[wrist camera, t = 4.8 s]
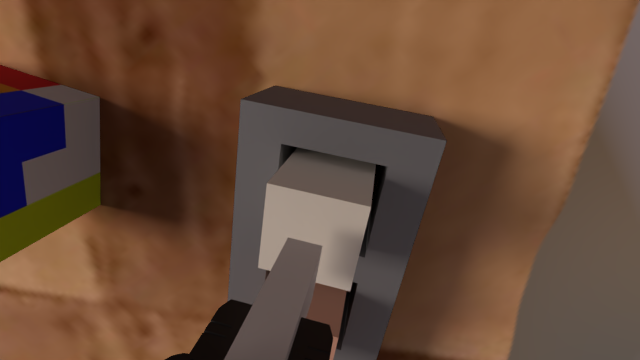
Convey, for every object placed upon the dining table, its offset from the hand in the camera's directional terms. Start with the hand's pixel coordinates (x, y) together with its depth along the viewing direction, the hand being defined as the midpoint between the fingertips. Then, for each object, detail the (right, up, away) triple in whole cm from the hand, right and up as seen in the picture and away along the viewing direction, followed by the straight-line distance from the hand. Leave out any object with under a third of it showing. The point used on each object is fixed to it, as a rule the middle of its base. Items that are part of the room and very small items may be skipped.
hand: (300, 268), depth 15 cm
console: (+1, -3, +14) cm, 14 cm away
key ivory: (+2, +4, +8) cm, 9 cm away
